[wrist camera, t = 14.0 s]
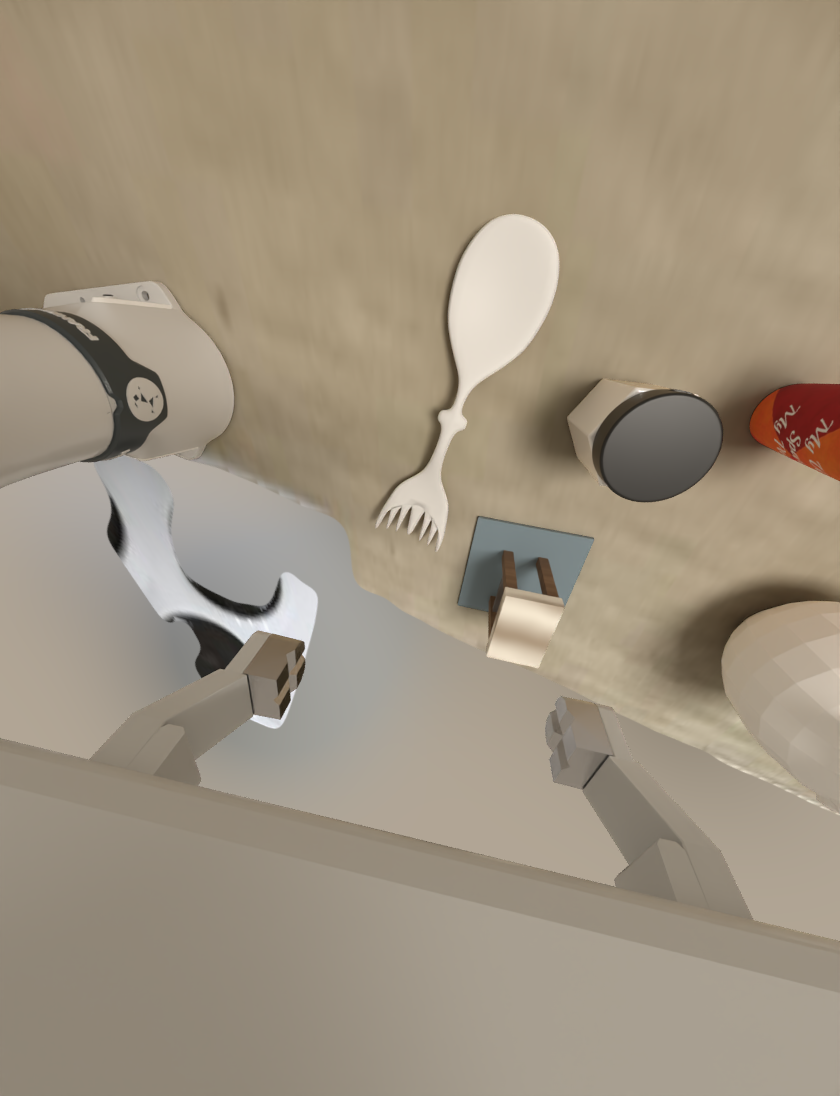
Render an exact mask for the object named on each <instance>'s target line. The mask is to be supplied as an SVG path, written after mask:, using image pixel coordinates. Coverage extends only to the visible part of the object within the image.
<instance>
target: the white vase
mask: <svg viewBox="0 0 840 1096" xmlns="http://www.w3.org/2000/svg"><path fill="white" fill-rule="evenodd" d="M721 663H722V678H723V684H724V689H725V694H726V696H727V698H728V699H729V701H730V702H731V704H732V706H733V707H734V709H735V711H736V712H737V714H738V715H739V717H740V719H741V720H742V722H743V724H744V725H745V727H746V728H747V730H748V731H749V732H750V734H751V735H752V736H753V737H754V738H755V740H756V741H757V742H758V743H759V744H760V745H761V747H762V748H763V749H764V750H765V751H766V753H767V754H769V755H770V756H771V757H772V758H773V759H774V760H776V761H777V762H778V763H779V764H780V765H781V766H782V767H783V768H784V769H786V770H787V771H788V772H789V773H790V774H791V775H792V776H793V777H794V778H795V779H796V780H797V781H798V782H800V783H801V784H802V785H803V786H805V787H807V788H808V789H810V790H812V791H814V792H815V793H816V799H817V800H818V801H819V802H821V803H822V804H823V805H825V806H826V807H827V808H829V809H830V810H831V811H835V812H838V813H840V602H832V601H804V602H796V603H789V604H785V605H781V606H777V607H774V608H770V609H767V610H764V611H761V612H758V613H756V614H754V615H752V616H750V617H748V618H747V619H746V620H744V621H743V622H742V623H741V624H740V625H739V626H738V627H737V628H736V629H735V630H734V631H733V633H732V634H731V636H730V638H729V640H728V642H727V643H726V645H725V648H724V651H723V655H722V659H721Z"/></svg>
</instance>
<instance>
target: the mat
mask: <svg viewBox="0 0 840 1096" xmlns="http://www.w3.org/2000/svg"><path fill="white" fill-rule="evenodd" d="M593 541H594V538H592V537H587V536H582V535H576V534H571V533H566V532H560V531H555V530H550V529H545V528H539V527H534V526H529V525H523V524H518V523H513V522H508V521H502V520H497V519H492V518H486V517H481V516H478V520H477V525H476V529H475V533H474V537H473V542H472V546H471V550H470V554H469V559H468V563H467V567H466V571H465V576H464V580H463V584H462V588H461V592H460V597H459V601H458V605H459V606H464V607H468V608H473V609H478V610H483V611H487V612H489V599H490V596H495V597H496V595H497V592H498V588H499V585H500V582H501V578H502V575H503V574H502V555H503V551H504V550H506V551H511V552H513V554H514V562H515V571H516V579H517V587H518V589H519V590H524V591H528V592H533V593H538V594H542V591H541V587H540V582H539V577H538V573H537V568H536V563H537V560H538V557H542V558H547V559H548V560H549V564H550V567H551V571H552V574H553V578H554V582H555V585H556V589H557V592H558V596H559V598H562V600H563V603H564V607H565V605H566V603H567V601H568V598H569V596H570V594H571V592H572V589H573V587H574V585H575V582H576V580H577V578H578V576H579V573H580V571H581V569H582V566H583V564H584V562H585V560H586V557H587V555H588V553H589V551H590V548H591V546H592V544H593Z"/></svg>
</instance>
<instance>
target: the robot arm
mask: <svg viewBox="0 0 840 1096" xmlns="http://www.w3.org/2000/svg"><path fill="white" fill-rule="evenodd" d="M147 293H148V294H149V299H148V296H147ZM233 409H234V391H233V384H232V380H231V376H230V373H229V370H228V368H227V365H226V363H225V361H224V359H223V357H222V355H221V353H220V351H219V350H218V348H217V347H216V345H215V344H214V342H213V341H212V340H211V338H210V337H209V336H208V335H207V334H206V333H205V332H204V330H203V329H201V328H200V327H199V326H198V325H197V324H196V323H195V322H194V321H193V320H191V319H190V318H189V317H188V316H187V315H186V314H185V313H184V312H183V311H182V309H181V307H180V306H179V304H178V303H177V301H176V299H175V298H174V296H173V295H172V293H171V292H170V291H169V289H168V288H167V287H166V286H165V285H164V284H163V283H161V282H158V281H144V282H136V283H128V284H120V285H112V286H104V287H97V288H89V289H81V290H73V291H65V292H57V293H51V294H47V295H46V296H45V299H44V306H43V308H41V309H37V308H24V309H12V310H7V311H3V312H1V313H0V488H2V487H5V486H7V485H9V484H12V483H14V482H17V481H20V480H23V479H26V478H29V477H32V476H35V475H37V474H40V473H43V472H47V471H50V470H53V469H56V468H59V467H62V466H65V465H69V464H72V463H75V462H79V461H80V462H97V461H104V460H110V459H114V458H118V457H121V456H123V455H127V456H130V457H133V458H137V459H138V460H139V461H147V460H152V459H156V458H161V457H165V456H169V455H173V454H174V455H176V456H179V457H182V458H184V459H187V460H193V459H198V458H199V457H200V456H201V455H202V453H203V451H204V449H205V447H206V445H207V444H208V443H209V442H210V441H211V440H213V439H215V438H216V437H218V436H219V435H221V434H222V433H223V432H224V430H225V429H226V428H227V426H228V424H229V422H230V420H231V417H232V414H233ZM304 650H305V645H304V641H300V640H296V639H292V638H288V637H284V636H280V635H276V634H271V633H267V632H263V631H256V632H255V633H253V634H252V636H251V637H250V638H249V639H248V641H247V642H246V643H245V645H244V646H243V647H242V648H241V650H240V651H239V652H238V653H237V655H236V656H235V657H234V659H233V660H232V661H231V662H230V664H229V665H228V666H227V667H226V669H225V670H223V669H219V670H217V671H215V672H213V673H211V674H209V675H207V676H205V677H203V678H201V679H199V680H197V681H195V682H194V683H191V684H190V685H188V686H186V687H184V688H182V689H180V690H178V691H176V692H174V693H172V694H170V695H168V696H166V697H164V698H162V699H160V700H158V701H156V702H154V703H152V704H150V705H148V706H146V707H145V708H142V709H141V710H138V711H137V712H135V713H133V714H132V715H131V716H130V717H129V718H128V719H127V720H126V721H125V722H124V723H123V724H122V725H121V726H120V727H119V728H118V730H116V732H115V733H114V734H113V735H112V736H111V737H110V738H109V739H108V740H107V741H106V742H105V743H104V744H103V745H102V746H101V747H100V748H99V750H98V751H97V752H96V753H95V754H94V755H93V756H92V757H91V758H90V759H89V760H88V759H84V758H80V757H76V756H72V755H67V754H63V753H59V752H55V751H50V750H47V749H43V748H38V747H34V746H30V745H26V744H21V743H18V742H14V741H9V740H5V739H1V738H0V1096H840V941H837V940H833V939H829V938H825V937H821V936H816V935H812V934H809V933H804V932H800V931H796V930H791V929H788V928H784V927H780V926H775V925H771V924H767V923H763V922H759V921H754V920H753V918H752V916H751V913H750V911H749V909H748V907H747V905H746V903H745V901H744V899H743V897H742V895H741V892H740V890H739V888H738V886H737V884H736V882H735V880H734V878H733V876H732V874H731V872H730V869H729V867H728V865H727V863H726V861H725V859H724V857H723V855H722V853H721V851H720V850H719V849H718V848H717V847H716V845H715V844H714V843H713V842H712V841H711V840H710V839H709V838H708V837H707V836H706V835H705V834H704V832H703V831H702V830H701V829H700V828H699V827H698V826H697V825H696V824H695V823H694V822H693V820H692V819H691V818H690V817H689V816H688V815H687V814H686V813H685V812H684V811H683V810H682V809H681V807H680V806H679V805H678V804H677V803H676V802H675V801H674V800H673V799H672V798H671V797H670V795H669V794H668V793H667V792H666V791H665V790H664V789H663V788H662V787H661V786H660V785H659V784H658V783H657V781H656V780H655V779H654V778H653V777H652V776H651V775H650V774H649V773H648V772H647V771H646V770H645V768H644V767H643V766H642V765H641V764H640V763H639V762H635V761H633V758H632V755H631V753H630V750H629V748H628V745H627V742H626V739H625V737H624V734H623V732H622V729H621V726H620V724H619V721H618V719H617V716H616V713H615V711H614V709H613V708H612V707H609V706H605V705H600V704H595V703H592V702H587V701H582V700H577V699H572V698H567V697H562V696H561V697H559V698H558V699H557V701H556V703H555V706H556V710H554V711H552V712H550V714H549V716H548V718H547V722H546V728H545V732H546V742H547V745H548V746H549V747H550V749H551V750H552V751H553V754H552V755H551V757H550V764H551V771H552V776H553V781H554V782H555V783H559V784H563V785H567V786H571V787H575V788H578V789H582V790H583V793H584V795H585V796H586V798H587V799H588V801H589V802H590V804H591V806H592V807H593V808H594V810H595V812H596V813H597V815H598V817H599V818H600V820H601V821H602V823H603V824H604V826H605V828H606V829H607V831H608V832H609V834H610V836H611V837H612V839H613V840H614V842H615V843H616V845H617V846H618V848H619V850H620V851H621V853H622V854H623V856H624V857H625V859H626V861H627V862H628V864H629V866H627V867H626V868H625V869H624V870H623V871H622V872H621V873H619V875H618V876H617V877H616V878H615V880H614V881H615V885H616V887H614V886H610V885H606V884H601V883H597V882H592V881H589V880H585V879H580V878H577V877H572V876H568V875H564V874H560V873H556V872H552V871H548V870H543V869H539V868H535V867H531V866H527V865H523V864H519V863H515V862H510V861H506V860H502V859H498V858H494V857H490V856H485V855H482V854H477V853H473V852H469V851H465V850H461V849H456V848H452V847H448V846H444V845H440V844H436V843H432V842H427V841H423V840H419V839H415V838H411V837H407V836H403V835H399V834H395V833H390V832H386V831H382V830H378V829H374V828H370V827H366V826H362V825H357V824H353V823H349V822H345V821H341V820H337V819H333V818H329V817H324V816H320V815H316V814H312V813H308V812H303V811H300V810H295V809H291V808H287V807H283V806H279V805H275V804H270V803H266V802H262V801H258V800H254V799H250V798H246V797H241V796H237V795H233V794H229V793H224V792H221V791H216V790H212V789H208V788H204V787H200V786H198V785H199V783H200V782H201V777H200V773H199V770H198V767H197V765H196V762H195V760H196V759H197V758H198V757H200V756H201V755H202V754H204V753H205V752H206V751H208V750H209V749H210V748H212V747H213V746H214V745H216V744H217V743H218V742H220V741H221V740H222V739H223V738H225V737H226V736H228V735H229V734H230V733H232V732H233V731H234V730H235V729H237V728H238V727H239V726H241V725H242V724H243V723H245V722H246V721H247V720H249V719H250V718H251V717H253V714H254V715H259V716H264V717H269V718H275V719H280V720H281V718H282V716H283V714H284V712H285V710H286V708H287V707H288V705H289V703H290V701H291V698H290V692H292V691H294V690H295V689H297V688H298V685H299V684H300V682H301V679H302V676H303V673H304V670H305V658H304V657H303V656H302V653H303V652H304Z"/></svg>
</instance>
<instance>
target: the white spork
mask: <svg viewBox="0 0 840 1096" xmlns="http://www.w3.org/2000/svg"><path fill="white" fill-rule="evenodd" d="M558 277H559V253H558V249H557V245H556V243H555V240H554V238H553V237H552V235H551V233H550V232H549V231H548V230H547V229H546V227H544V226H543V225H542V224H541V223H539V222H538V221H537V220H535V219H533V218H531V217H528V216H525V215H520V214H507V215H503V216H499V217H497V218H495V219H493V220H491V221H490V222H488V223H487V224H486V225H484V226H483V227H482V228H481V229H480V230H479V232H478V233H477V234H476V235H475V236H474V238H473V239H472V240H471V242H470V243H469V245H468V246H467V248H466V250H465V251H464V253H463V255H462V257H461V260H460V262H459V264H458V267H457V270H456V273H455V277H454V280H453V284H452V289H451V293H450V299H449V306H448V329H449V336H450V341H451V346H452V350H453V355H454V359H455V363H456V367H457V371H458V377H459V385H458V392H457V396H456V399H455V402H454V404H453V406H452V407H451V408H450V409H448V410H442V411H440V413H439V415H438V420H439V422H440V424H441V433H440V437H439V440H438V443H437V445H436V448H435V450H434V453H433V455H432V457H431V459H430V461H429V463H428V464H427V466H426V467H425V468H424V469H423V470H422V471H421V472H420V473H418V474H417V475H415V476H413V477H411V478H409V479H407V480H405V481H404V482H402V483H401V484H400V485H398V486H397V487H396V489H395V490H394V491H393V493H392V494H391V496H390V497H389V499H388V500H387V502H386V503H385V505H384V507H383V508H382V510H381V512H380V514H379V516H378V519H377V522H376V528H377V527H378V526H379V524H380V523H381V521H382V520H383V518H384V516H385V515H386V513H387V512H388V511H389V510H391V511H390V516H389V519H388V523H387V529H388V527H389V526H390V524H391V522H392V520H393V519H394V517H395V515H396V513H397V512H398V510H399V509H400V508H401V512H400V516H399V519H398V523H397V526H396V531H397V530H398V528H399V527H400V525H401V523H402V521H403V519H404V517H405V516H406V514H407V512H408V510H409V509H410V508H411V507H412V510H411V515H410V520H409V524H408V529H407V533H408V535H409V534H410V533H411V532H412V531H413V529H414V528H415V526H416V525H417V523H418V521H419V519H420V518H421V516H422V514H423V513H424V512H425V517H424V521H423V525H422V529H421V533H420V537H419V541H420V540H421V538H422V536H423V535H424V533H425V531H426V529H427V527H428V525H429V523H430V521H431V520H432V524H431V529H430V534H429V538H428V542H427V545H428V544H429V543H430V541H431V539H432V538H433V536H434V534H435V532H436V531H437V529H438V538H437V543H436V549H435V551H436V552H437V551H438V549H439V547H440V545H441V543H442V540H443V537H444V533H445V528H446V522H447V517H448V500H447V497H446V494H445V491H444V488H443V485H442V481H441V469H442V464H443V461H444V457H445V454H446V451H447V449H448V446H449V444H450V442H451V440H452V438H453V436H454V435H455V434H456V433H457V432H458V431H461V430H464V429H465V427H466V425H467V420H466V419H465V417H464V416H463V415H462V407H463V405H464V402H465V400H466V398H467V396H468V395H469V393H470V392H471V391H472V389H473V388H474V387H475V386H476V385H477V384H479V383H480V382H481V381H483V380H484V379H486V378H487V377H489V376H490V375H492V374H494V373H495V372H497V371H498V370H500V369H501V368H503V367H504V366H506V365H507V364H509V363H510V362H511V361H513V360H514V359H515V358H516V357H517V356H519V355H520V354H521V353H522V352H523V351H524V350H525V349H526V347H527V346H528V345H529V344H530V342H531V341H532V340H533V338H534V337H535V335H536V334H537V332H538V330H539V329H540V327H541V325H542V324H543V322H544V320H545V318H546V316H547V314H548V312H549V310H550V307H551V305H552V302H553V300H554V296H555V293H556V289H557V284H558Z"/></svg>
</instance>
